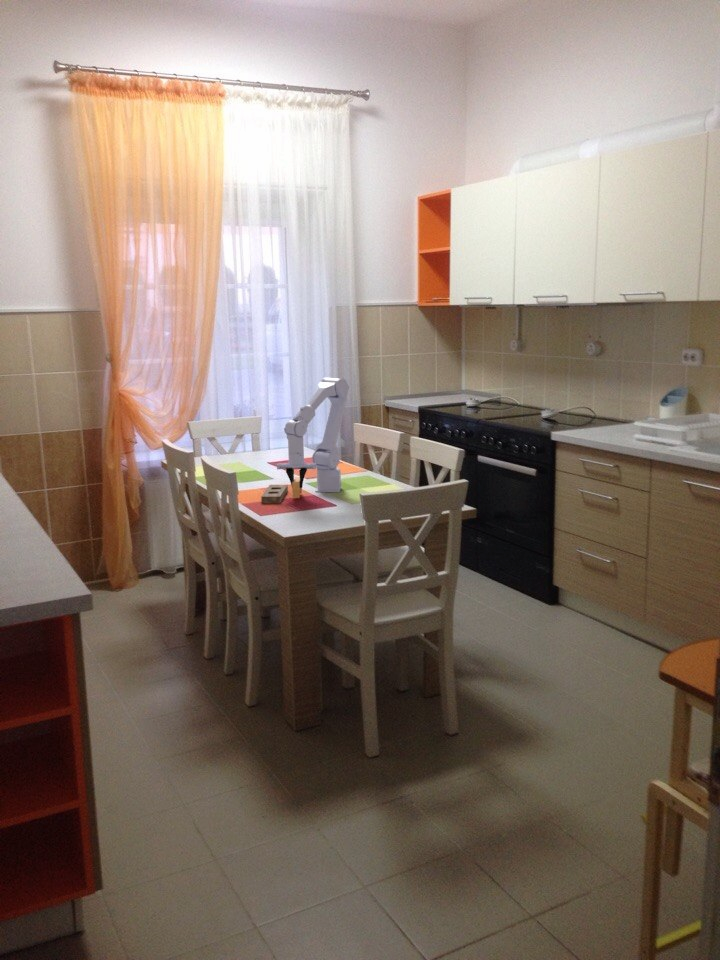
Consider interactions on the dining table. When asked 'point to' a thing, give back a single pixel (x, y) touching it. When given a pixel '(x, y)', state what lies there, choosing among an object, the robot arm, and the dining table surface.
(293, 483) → the tan wooden beam
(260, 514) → the dining table surface
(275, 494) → the rail
